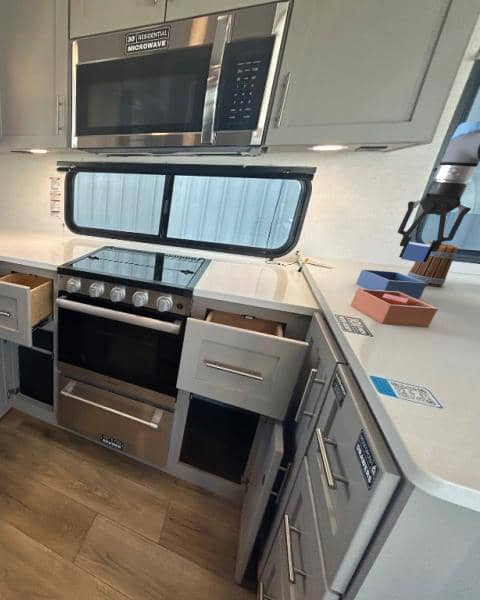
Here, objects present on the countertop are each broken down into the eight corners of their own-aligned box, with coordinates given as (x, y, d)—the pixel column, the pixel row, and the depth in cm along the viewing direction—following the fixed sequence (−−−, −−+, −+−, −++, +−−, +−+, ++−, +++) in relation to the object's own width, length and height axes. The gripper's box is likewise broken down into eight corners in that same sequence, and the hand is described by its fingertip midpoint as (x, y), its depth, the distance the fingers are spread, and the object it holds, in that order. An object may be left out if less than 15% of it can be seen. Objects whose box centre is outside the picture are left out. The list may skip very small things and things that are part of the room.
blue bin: (419, 298, 109) (427, 283, 107) (382, 296, 110) (388, 280, 108) (390, 286, 121) (396, 271, 119) (356, 283, 121) (361, 269, 119)
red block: (400, 315, 94) (408, 299, 92) (397, 319, 91) (405, 303, 89) (378, 308, 97) (385, 293, 95) (375, 313, 94) (382, 297, 92)
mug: (443, 289, 121) (464, 249, 115) (405, 281, 127) (423, 243, 121) (440, 280, 132) (459, 243, 126) (405, 273, 138) (421, 238, 132)
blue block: (423, 260, 105) (431, 245, 103) (422, 263, 102) (430, 247, 100) (402, 256, 108) (409, 241, 106) (401, 258, 105) (408, 243, 103)
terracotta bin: (428, 327, 88) (438, 308, 86) (381, 323, 89) (390, 305, 87) (391, 308, 100) (399, 291, 98) (350, 305, 100) (357, 288, 98)
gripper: (407, 179, 99) (374, 253, 109) (497, 185, 87) (452, 268, 97) (409, 179, 104) (378, 250, 113) (495, 185, 92) (452, 264, 101)
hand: (412, 258), depth 105 cm, fingers closed on blue block, 5 cm apart
